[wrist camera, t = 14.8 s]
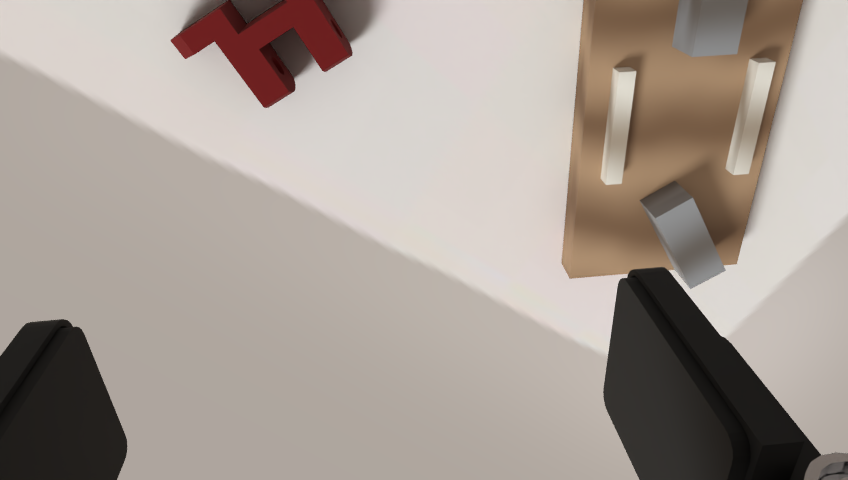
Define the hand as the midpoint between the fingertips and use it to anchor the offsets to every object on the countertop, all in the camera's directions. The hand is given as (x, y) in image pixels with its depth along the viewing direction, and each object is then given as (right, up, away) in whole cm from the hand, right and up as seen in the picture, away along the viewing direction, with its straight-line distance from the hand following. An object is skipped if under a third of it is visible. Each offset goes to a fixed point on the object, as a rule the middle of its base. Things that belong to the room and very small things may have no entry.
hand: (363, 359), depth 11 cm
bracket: (-2, +16, +22) cm, 27 cm away
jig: (+17, +10, +29) cm, 35 cm away
